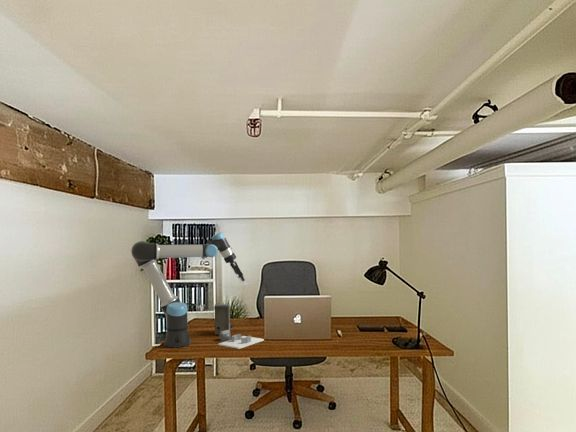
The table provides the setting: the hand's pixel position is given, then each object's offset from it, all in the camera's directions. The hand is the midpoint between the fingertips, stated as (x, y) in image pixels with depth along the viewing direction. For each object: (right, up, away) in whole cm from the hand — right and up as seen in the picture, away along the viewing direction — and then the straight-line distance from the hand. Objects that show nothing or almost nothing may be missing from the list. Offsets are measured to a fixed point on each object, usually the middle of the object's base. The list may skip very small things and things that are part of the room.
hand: (244, 283), depth 280 cm
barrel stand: (+1, -30, -28) cm, 41 cm away
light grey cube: (-9, -31, -21) cm, 38 cm away
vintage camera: (-12, -32, -2) cm, 34 cm away
